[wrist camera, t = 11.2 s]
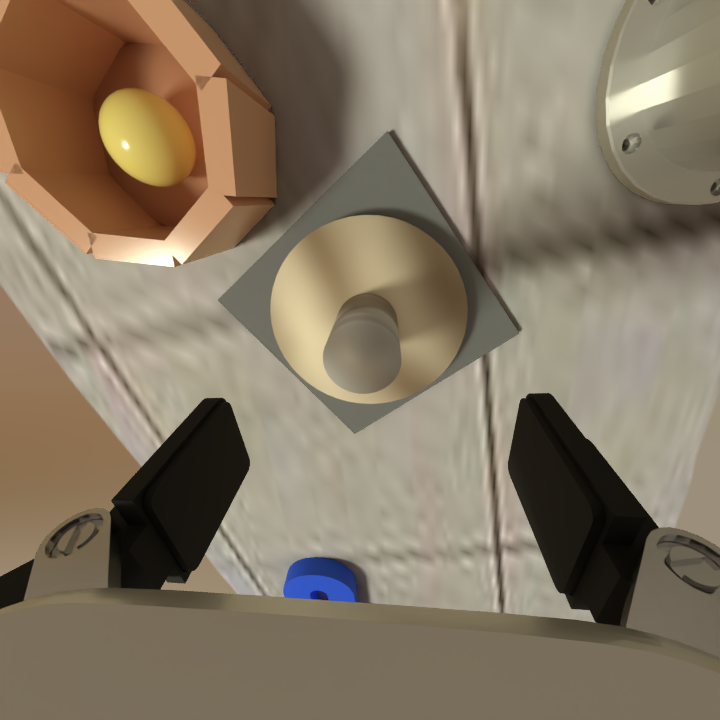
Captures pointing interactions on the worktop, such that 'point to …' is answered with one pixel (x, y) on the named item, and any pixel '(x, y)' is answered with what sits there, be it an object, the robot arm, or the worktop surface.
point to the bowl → (132, 128)
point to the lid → (369, 309)
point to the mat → (387, 198)
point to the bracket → (320, 580)
